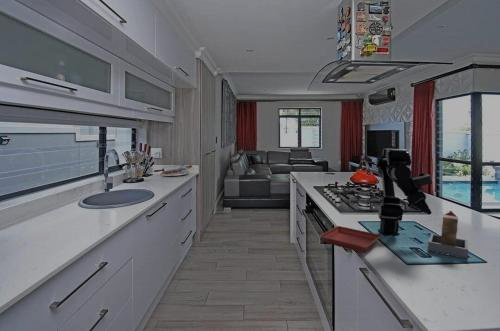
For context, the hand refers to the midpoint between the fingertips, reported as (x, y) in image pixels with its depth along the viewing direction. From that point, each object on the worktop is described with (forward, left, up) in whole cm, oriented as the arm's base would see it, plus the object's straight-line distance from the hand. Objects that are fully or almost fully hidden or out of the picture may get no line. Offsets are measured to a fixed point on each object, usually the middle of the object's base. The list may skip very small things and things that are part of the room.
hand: (429, 210), depth 113 cm
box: (+3, -7, -13) cm, 15 cm away
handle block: (+3, -7, -13) cm, 15 cm away
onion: (+26, +19, -13) cm, 35 cm away
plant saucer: (-30, +3, -14) cm, 33 cm away
